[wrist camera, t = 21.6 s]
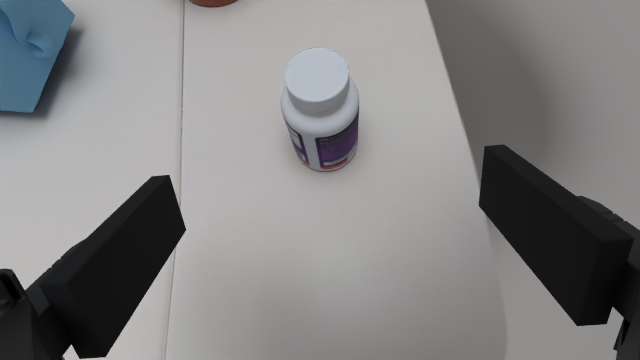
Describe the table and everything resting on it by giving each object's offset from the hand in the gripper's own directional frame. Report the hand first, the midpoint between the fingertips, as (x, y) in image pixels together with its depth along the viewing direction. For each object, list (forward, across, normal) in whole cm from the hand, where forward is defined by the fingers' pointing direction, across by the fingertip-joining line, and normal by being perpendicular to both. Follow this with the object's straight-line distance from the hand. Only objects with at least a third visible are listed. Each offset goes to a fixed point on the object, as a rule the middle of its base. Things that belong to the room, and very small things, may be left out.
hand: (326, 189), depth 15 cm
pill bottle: (+16, 0, -4) cm, 16 cm away
